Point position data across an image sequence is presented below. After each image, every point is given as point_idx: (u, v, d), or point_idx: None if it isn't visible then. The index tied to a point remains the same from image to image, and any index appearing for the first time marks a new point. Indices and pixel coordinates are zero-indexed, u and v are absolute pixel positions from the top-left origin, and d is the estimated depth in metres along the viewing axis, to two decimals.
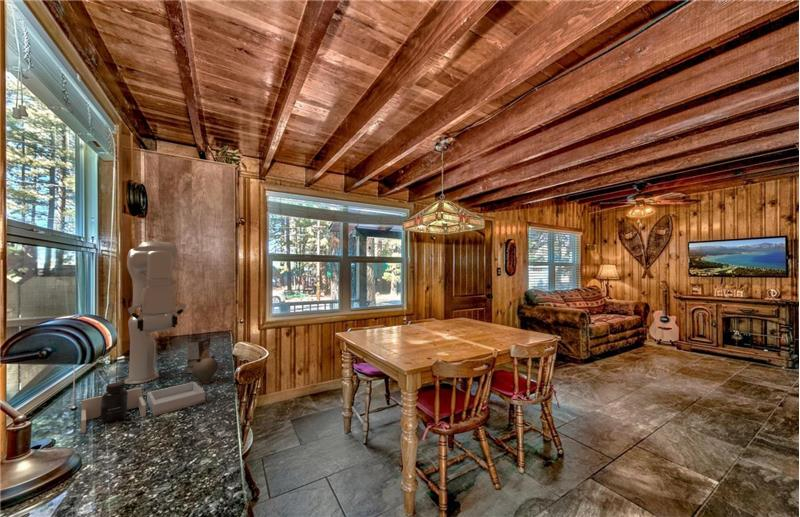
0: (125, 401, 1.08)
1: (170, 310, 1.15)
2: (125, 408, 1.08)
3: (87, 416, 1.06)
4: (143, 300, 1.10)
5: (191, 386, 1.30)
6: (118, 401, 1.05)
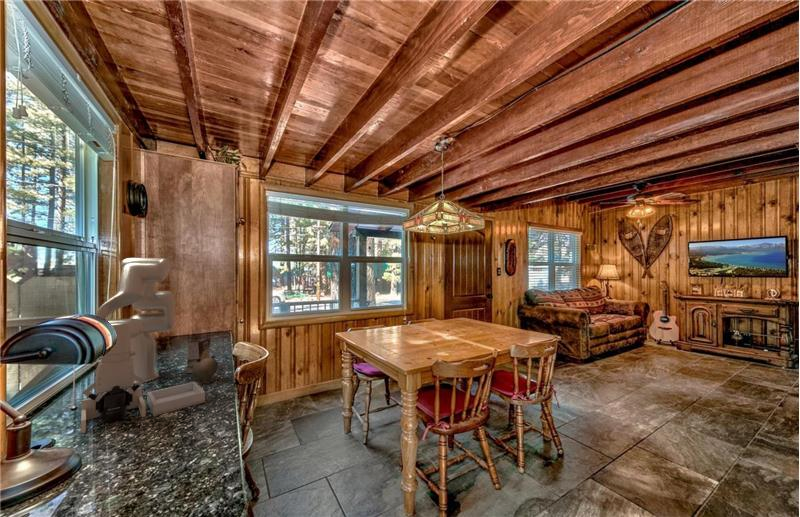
0: (125, 401, 1.08)
1: (128, 385, 1.08)
2: (125, 408, 1.08)
3: (87, 416, 1.06)
4: (97, 378, 1.03)
5: (191, 386, 1.30)
6: (117, 401, 1.05)
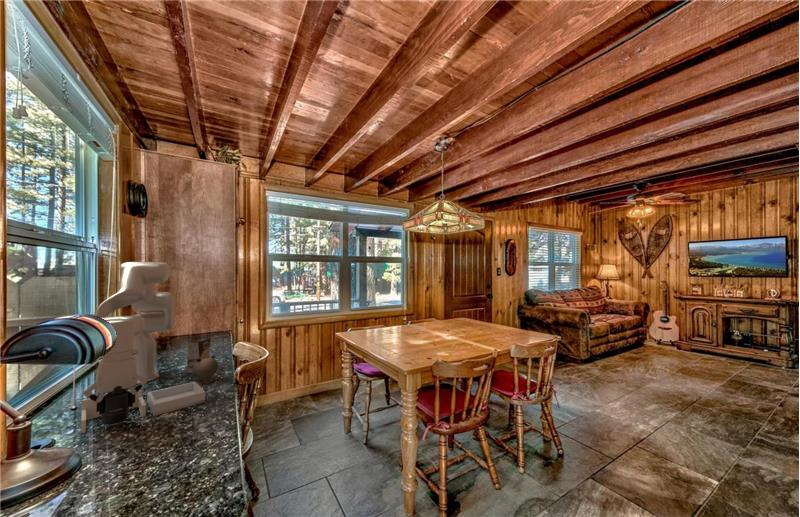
0: (127, 402, 1.03)
1: (130, 385, 1.03)
2: (127, 409, 1.03)
3: (87, 416, 1.06)
4: (98, 378, 0.98)
5: (191, 386, 1.30)
6: (119, 402, 1.00)
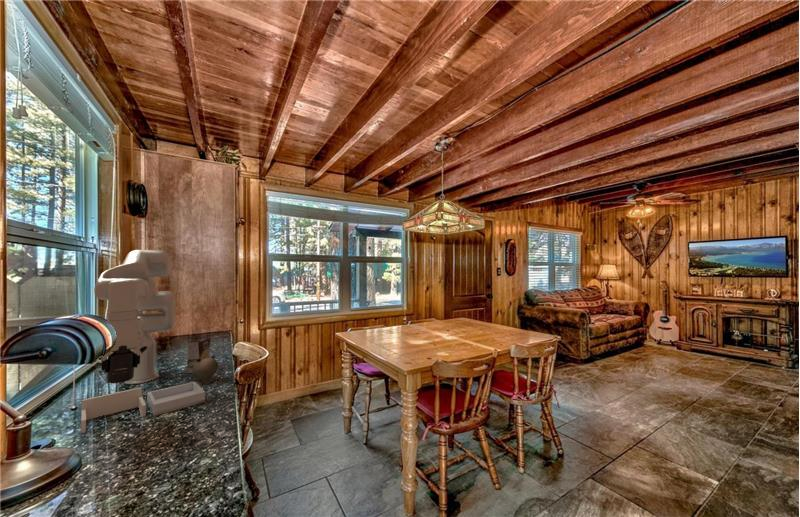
0: (132, 362, 1.02)
1: (135, 346, 1.03)
2: (132, 370, 1.03)
3: (87, 416, 1.06)
4: None
5: (191, 386, 1.30)
6: (124, 362, 1.00)
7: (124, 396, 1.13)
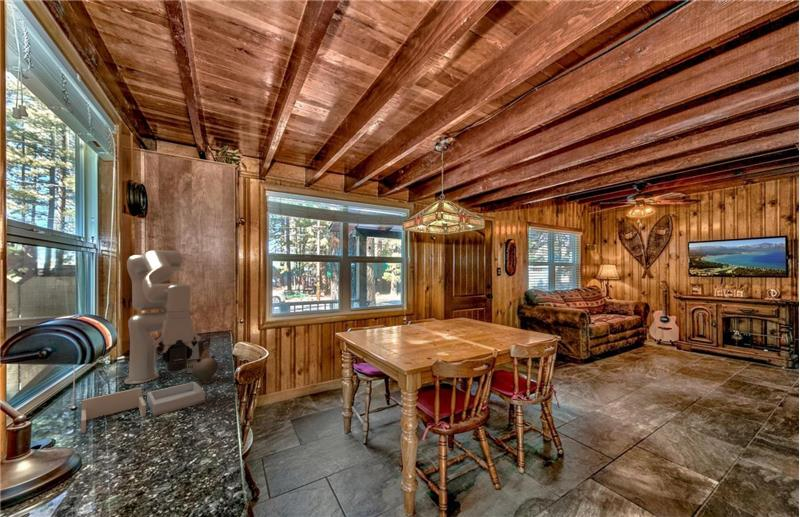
0: (186, 354, 1.21)
1: (189, 340, 1.22)
2: (186, 360, 1.21)
3: (87, 416, 1.06)
4: (164, 332, 1.16)
5: (191, 386, 1.30)
6: (181, 353, 1.19)
7: (124, 396, 1.13)
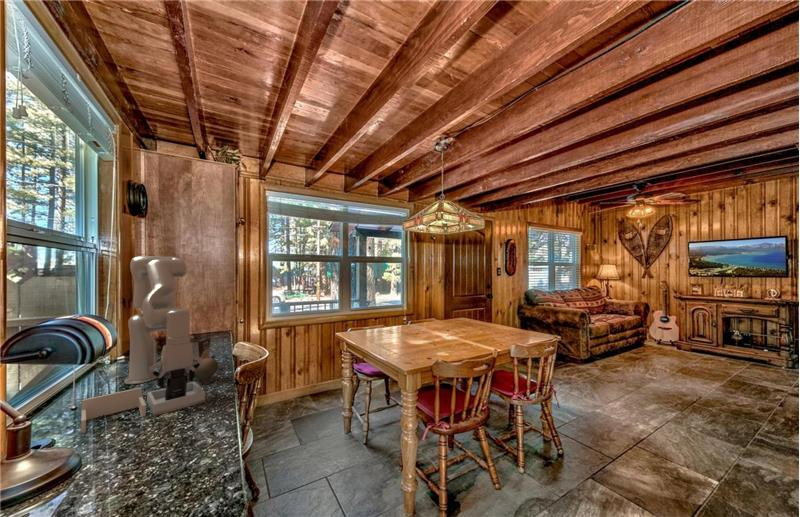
0: (186, 384, 1.21)
1: (188, 365, 1.22)
2: (185, 390, 1.21)
3: (87, 416, 1.06)
4: (163, 358, 1.16)
5: (191, 386, 1.30)
6: (180, 384, 1.19)
7: (124, 396, 1.13)
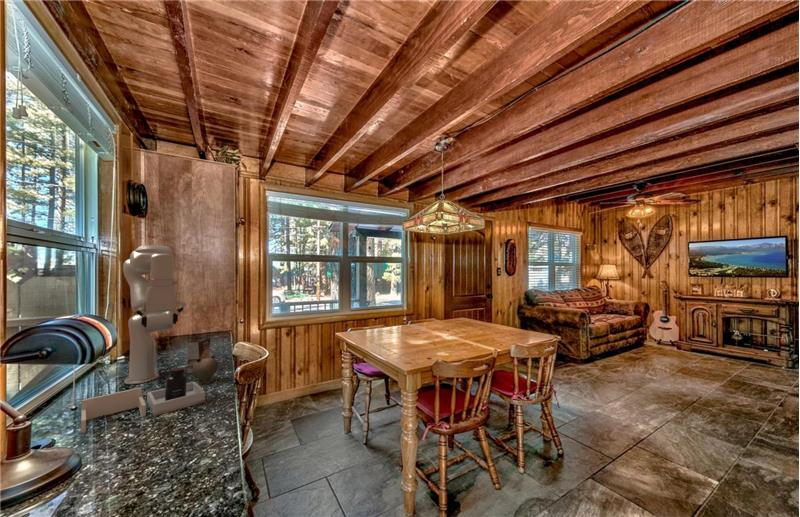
0: (185, 384, 1.21)
1: (171, 308, 1.26)
2: (185, 390, 1.21)
3: (87, 416, 1.06)
4: (147, 299, 1.20)
5: (191, 386, 1.30)
6: (180, 384, 1.19)
7: (124, 396, 1.13)
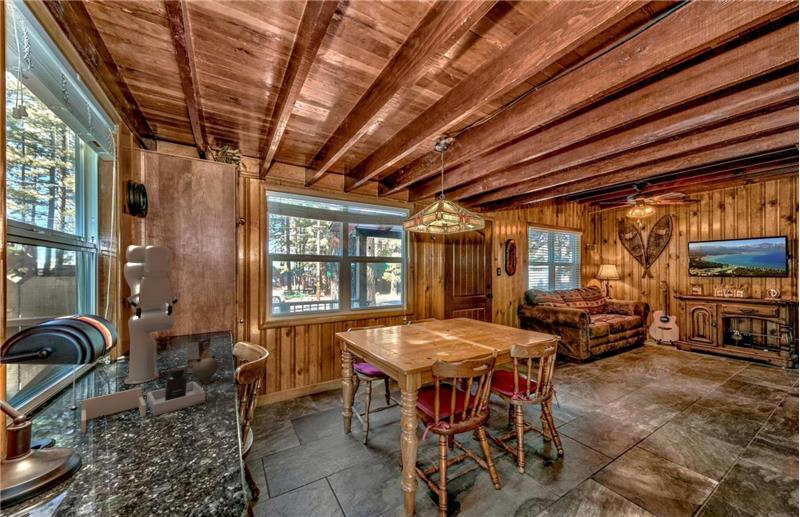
0: (185, 384, 1.21)
1: (166, 300, 1.26)
2: (185, 390, 1.21)
3: (87, 416, 1.06)
4: (141, 290, 1.21)
5: (191, 386, 1.30)
6: (180, 384, 1.19)
7: (124, 396, 1.13)
